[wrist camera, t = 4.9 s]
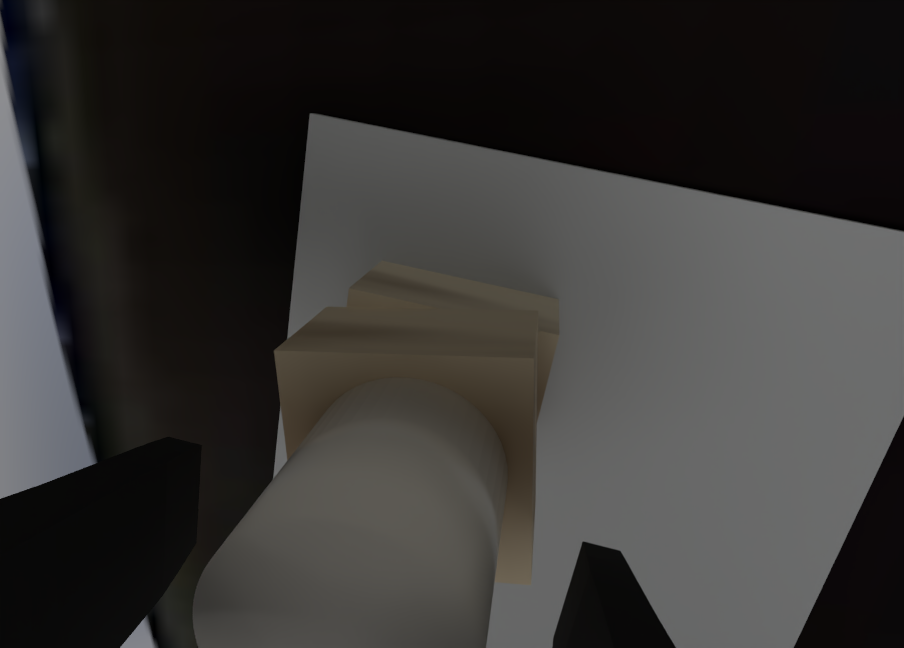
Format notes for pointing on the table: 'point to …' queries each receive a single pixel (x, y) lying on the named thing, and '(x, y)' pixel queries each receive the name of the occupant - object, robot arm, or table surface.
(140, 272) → the table surface
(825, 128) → the table surface
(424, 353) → the slab top
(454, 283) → the slab bottom
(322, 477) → the cylinder
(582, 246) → the mat
